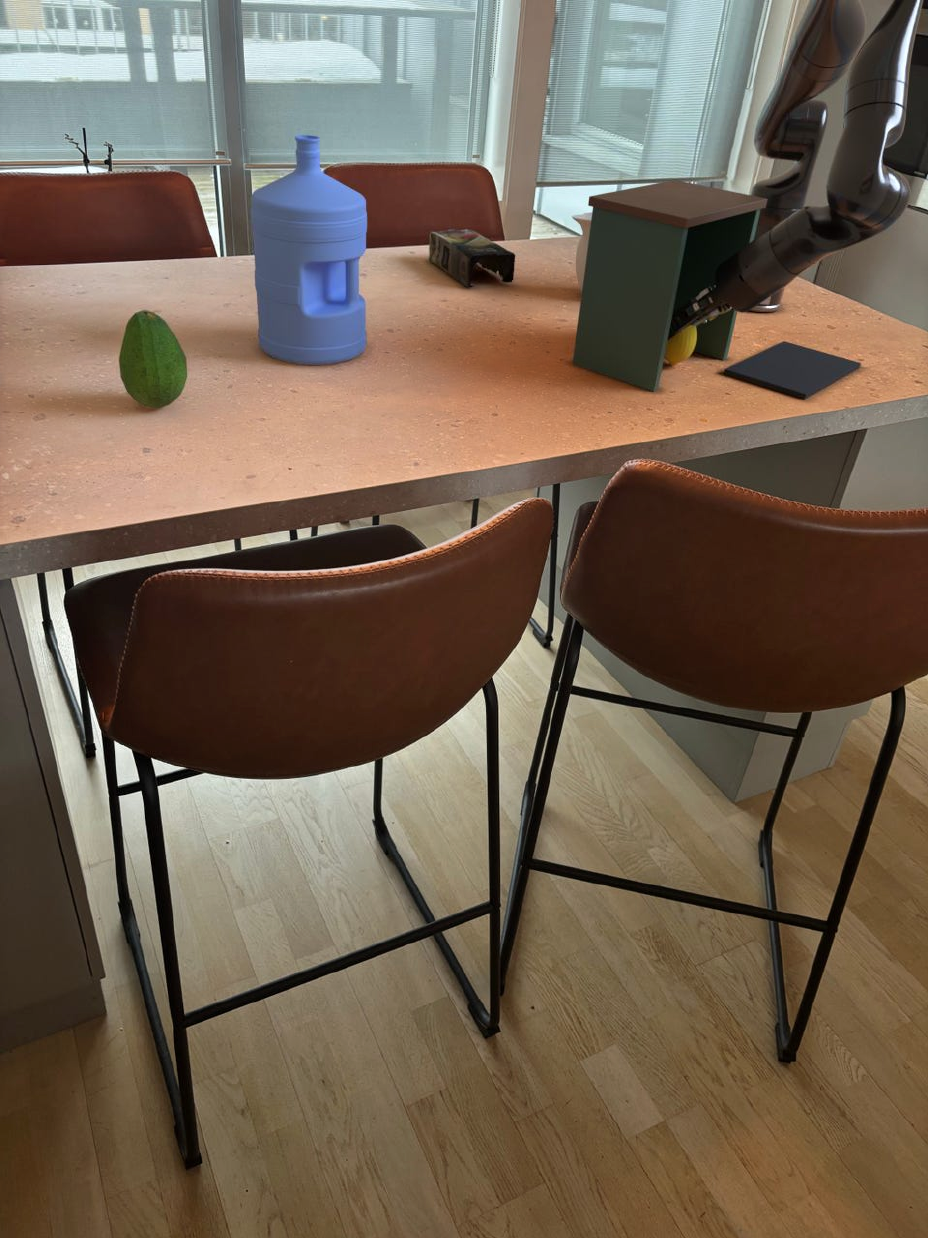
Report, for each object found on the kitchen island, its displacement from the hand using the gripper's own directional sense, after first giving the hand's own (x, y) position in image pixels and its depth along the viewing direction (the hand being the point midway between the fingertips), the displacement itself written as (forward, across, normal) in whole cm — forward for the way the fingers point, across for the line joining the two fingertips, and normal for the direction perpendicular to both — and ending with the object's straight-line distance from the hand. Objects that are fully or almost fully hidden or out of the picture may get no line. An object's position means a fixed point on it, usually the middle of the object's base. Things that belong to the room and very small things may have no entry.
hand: (667, 334), depth 142 cm
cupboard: (+3, +1, +2) cm, 4 cm away
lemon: (+2, 0, +4) cm, 5 cm away
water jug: (+29, +37, -23) cm, 53 cm away
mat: (-8, -13, +14) cm, 21 cm away
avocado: (+27, +66, -20) cm, 74 cm away
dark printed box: (+39, -13, -32) cm, 52 cm away
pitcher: (+21, -22, -15) cm, 34 cm away
